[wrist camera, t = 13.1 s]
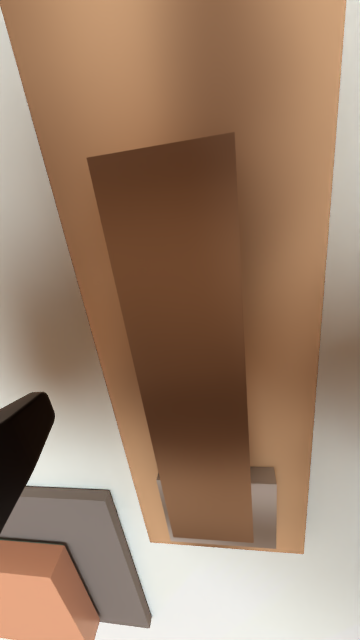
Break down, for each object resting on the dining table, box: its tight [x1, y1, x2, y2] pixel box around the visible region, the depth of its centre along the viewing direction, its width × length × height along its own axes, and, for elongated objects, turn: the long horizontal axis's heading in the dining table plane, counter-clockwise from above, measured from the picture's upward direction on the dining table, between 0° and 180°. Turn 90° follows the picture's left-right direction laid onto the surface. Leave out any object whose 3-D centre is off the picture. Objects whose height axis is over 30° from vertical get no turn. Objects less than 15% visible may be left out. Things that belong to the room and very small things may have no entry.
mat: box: [0, 487, 151, 628], centre depth 20 cm, size 14×14×1 cm
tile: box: [0, 539, 100, 640], centre depth 19 cm, size 7×2×9 cm
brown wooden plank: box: [86, 132, 277, 549], centre depth 10 cm, size 16×5×3 cm, turn 8°
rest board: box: [0, 0, 346, 554], centre depth 11 cm, size 8×24×1 cm, turn 8°
